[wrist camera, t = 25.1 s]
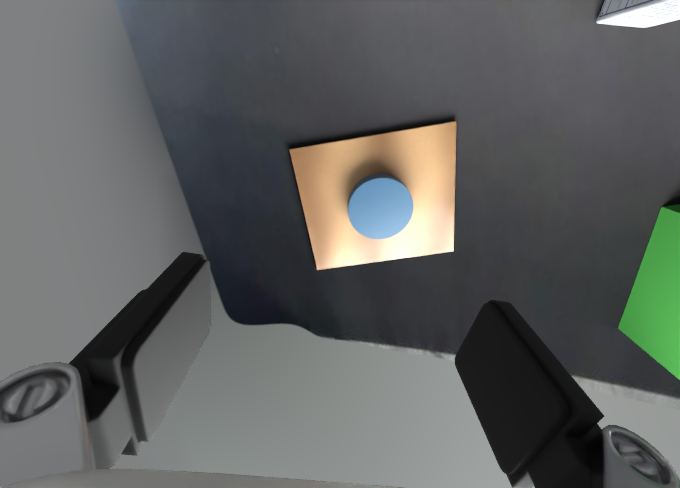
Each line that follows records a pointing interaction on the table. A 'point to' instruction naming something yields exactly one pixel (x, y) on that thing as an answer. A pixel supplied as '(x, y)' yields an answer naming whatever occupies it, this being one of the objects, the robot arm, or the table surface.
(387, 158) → the copper metallic mat
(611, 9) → the medicine box
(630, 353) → the table surface
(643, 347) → the hardback book
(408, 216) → the lid
